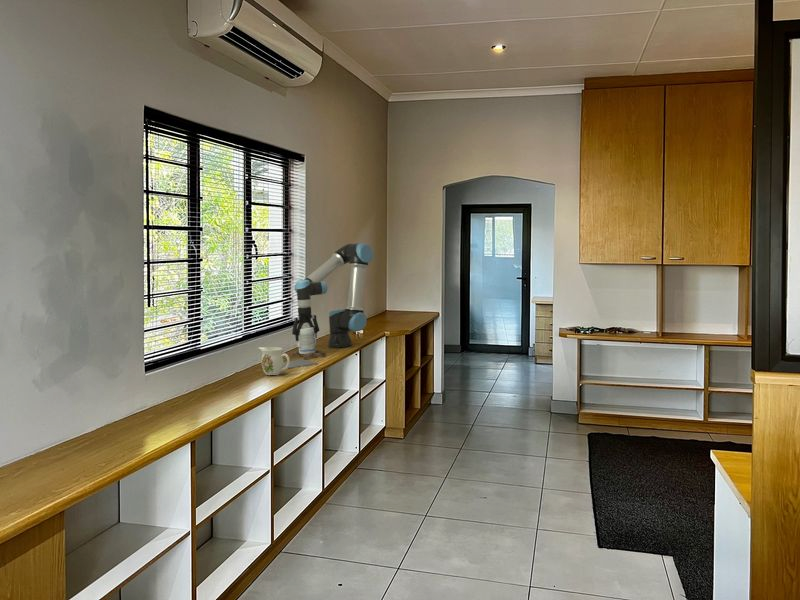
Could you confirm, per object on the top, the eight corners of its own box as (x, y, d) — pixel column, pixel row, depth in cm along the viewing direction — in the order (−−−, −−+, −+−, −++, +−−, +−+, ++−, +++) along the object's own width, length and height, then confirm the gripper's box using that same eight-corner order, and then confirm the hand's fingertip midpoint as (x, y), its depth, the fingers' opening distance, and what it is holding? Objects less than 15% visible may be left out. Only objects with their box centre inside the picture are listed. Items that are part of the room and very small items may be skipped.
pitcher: (284, 377, 341) (283, 350, 340) (253, 376, 348) (252, 349, 347) (295, 373, 352) (294, 346, 350) (265, 372, 358) (264, 345, 357)
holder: (312, 353, 411) (311, 349, 410) (325, 356, 398) (325, 352, 398) (291, 356, 402) (291, 352, 402) (304, 359, 390) (304, 355, 390)
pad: (302, 359, 390) (302, 359, 390) (318, 363, 376) (318, 363, 376) (273, 364, 379) (273, 363, 379) (289, 368, 365) (289, 367, 365)
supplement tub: (318, 353, 398) (316, 327, 397) (303, 355, 393) (302, 329, 392) (310, 351, 406) (309, 326, 405) (296, 353, 401) (294, 328, 400)
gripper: (317, 304, 407) (319, 342, 409) (284, 308, 393) (286, 347, 396) (324, 305, 401) (326, 343, 403) (290, 309, 387) (292, 348, 390)
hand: (306, 345), depth 399 cm, fingers closed on supplement tub, 9 cm apart
